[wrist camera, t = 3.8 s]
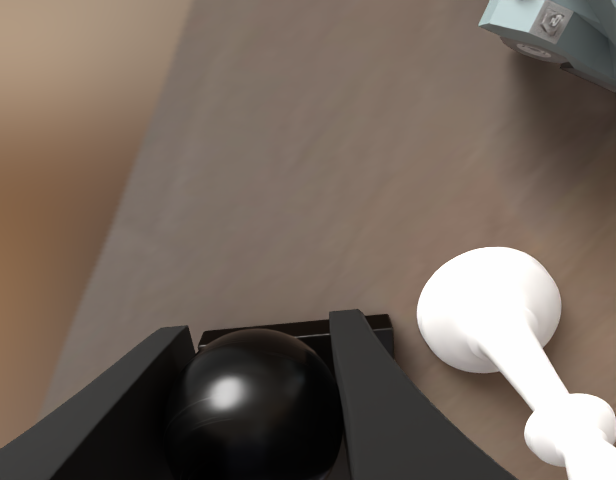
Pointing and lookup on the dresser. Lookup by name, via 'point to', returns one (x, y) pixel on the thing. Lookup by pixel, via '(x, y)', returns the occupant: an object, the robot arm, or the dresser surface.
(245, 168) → the dresser surface
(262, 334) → the lever
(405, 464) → the robot arm
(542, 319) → the chess piece
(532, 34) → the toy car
